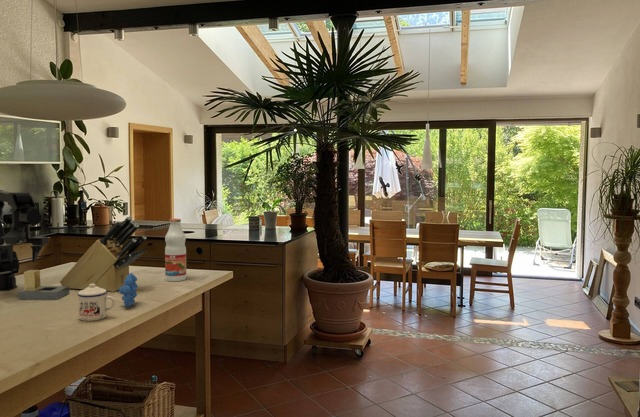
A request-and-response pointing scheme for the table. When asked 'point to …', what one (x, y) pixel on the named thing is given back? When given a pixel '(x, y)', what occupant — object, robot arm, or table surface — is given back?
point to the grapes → (129, 290)
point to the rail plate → (44, 293)
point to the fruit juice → (175, 252)
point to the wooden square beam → (32, 279)
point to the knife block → (107, 259)
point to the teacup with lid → (93, 303)
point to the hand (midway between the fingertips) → (22, 262)
